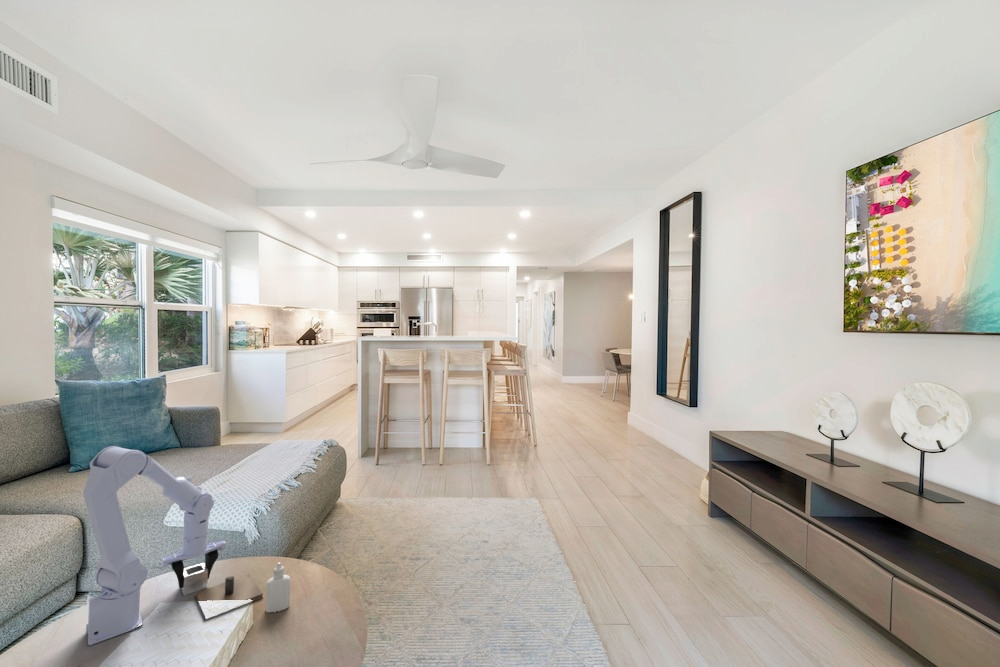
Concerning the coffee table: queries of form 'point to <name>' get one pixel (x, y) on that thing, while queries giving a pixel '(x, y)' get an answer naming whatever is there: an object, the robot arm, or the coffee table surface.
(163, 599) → the coffee table surface
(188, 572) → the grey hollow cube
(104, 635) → the robot arm
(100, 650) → the coffee table surface
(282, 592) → the eye dropper bottle
